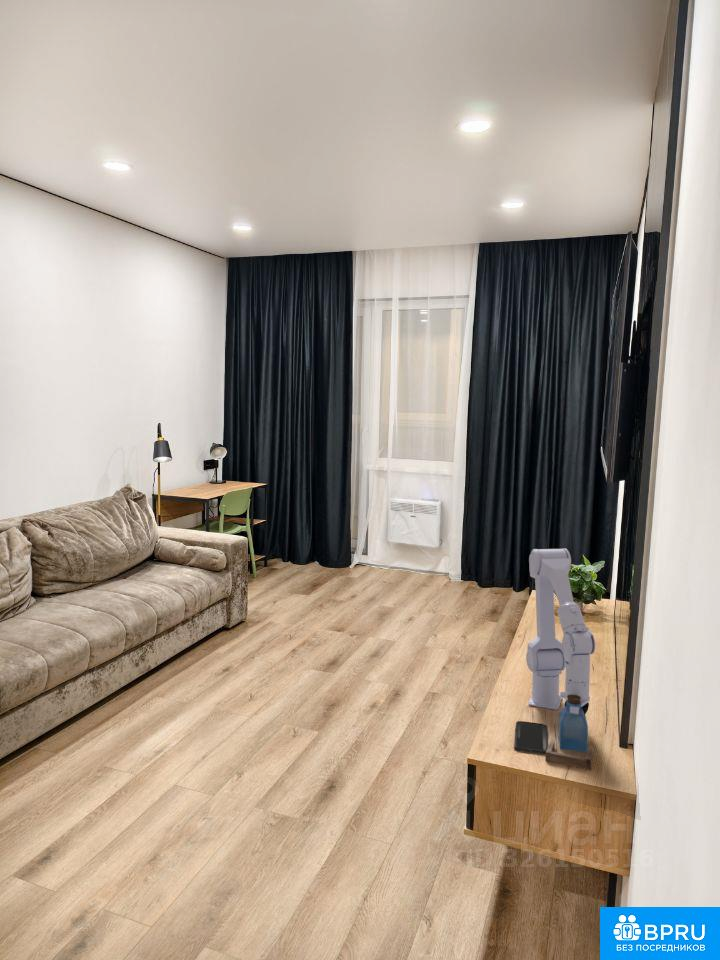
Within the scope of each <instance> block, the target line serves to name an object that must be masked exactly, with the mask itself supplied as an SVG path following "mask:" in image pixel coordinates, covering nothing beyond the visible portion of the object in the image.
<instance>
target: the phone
mask: <svg viewBox="0 0 720 960" xmlns="http://www.w3.org/2000/svg"><path fill="white" fill-rule="evenodd" d="M547 748H548V725H547V724H545V723H542V722H541V723H540V722H532V721H524V720H517V721H516V722H515V729H514V743H513V749H514V750H515V751H517V752H521V753H529V754H537V755H546V750H547Z"/></svg>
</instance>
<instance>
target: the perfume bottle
mask: <svg viewBox="0 0 720 960" xmlns="http://www.w3.org/2000/svg"><path fill="white" fill-rule="evenodd" d="M567 698H568V700H567V701H566V700H565V701H566V705H567V706H563V708H562V709H561V710H560V712H559V713H558V714H559V716H558V718H559V720H558V741H559V749H560V750H565V751H572V750H574V751H573V752H580V751H582V752H583V753H588V737H589V726H588V722H587V717H586V714H584V712H583V710H582V708H581V702H580V699H581V697H580V696H578V695H573V694H571V695H568V696H567ZM570 706H571V707H579V708H580V709H579V714H574V713H570Z"/></svg>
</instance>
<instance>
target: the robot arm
mask: <svg viewBox="0 0 720 960" xmlns="http://www.w3.org/2000/svg"><path fill="white" fill-rule="evenodd" d="M528 563H529V567H528V568H529V576H530V577H531V578H533V579H534V583H535V587H534V589H535V611H536V636H535V637H534V638H533V639H532V640H531V641H529V642H528V643H527V651H526V657H525V659H526V660H525V661H526V665H527V667H528V669H529V671H530V672H531V673H532V681H531V683H532V684H531V686H532V687H531V690H532V691H531V696H530V700H529V701H528V706H533V707H539V708H543V709H549V710H555V711H558V710H559V708H560V705H561V702H562V699H564V700H565V702H564V706H567V705H566V701H567V700H568V698H567V696H568V695H571V694H573V695H578V696H580V697H581V699H580V702H581V708H582V710H583V712H584V714H585V715H586V714H587V712H588V711H589V706H590V705H589V704H590V703H589V702H590V699H591V696H590V676H591V675H590V672H591V668H590V667H591V655H593V654H594V653H595V650H596V641H595V637H594V633H593V632H592V631H591V630H590V628H589V627H588V626H586V623H585V621H584V616H583V613H582V611H581V606H580V605H579V604H577V603H576V602H574V597H573V593H572V587H571V583H570V578H569V573H570V571H571V567H572V564H571V563H572V557H571V554H570V551H569V550H568V548H564V547H563V548H542V549H540V548H539V549H538V548H533V549H532V550H531V552H530V554H529V557H528ZM554 594H555V595H554ZM555 596H556V598H557V601H558V604H559V607H558V608H557V615H558V618H559V619H558V620H559V621H560V622H559V623H560V627H561V630H562V634H563V635H562V639H561V640H559V639H558V638H556V623H555V622H556V621H555V620H556V619H555V618H556V617H555V616H556V615H555V614H556V613H555ZM564 670H565V679H564V681H565V683H564V691H560V675H562V674H563V671H564ZM559 692H560V693H559ZM564 706H563V707H564ZM579 709H580V708H579V707H571V706H570V713H574V714H579Z"/></svg>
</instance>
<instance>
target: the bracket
mask: <svg viewBox="0 0 720 960" xmlns="http://www.w3.org/2000/svg"><path fill="white" fill-rule="evenodd" d="M555 743H556V739H553V738H550V740H549V742H548V744H547V750H546V754H545V759H544V760H545V761H546V762H549V763H550V762H551V763H556V764H559V765H560V764H561V765H566V766H569V767H574V766H576V768H579V769H584V768H585V770H589V771H592V762H593V758H594V747H593V746H588V747H587V752H586V757H583V756H578V755H577V756H576V755H571V754H566V753H561V752H556V751H555V747H556V744H555Z"/></svg>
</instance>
